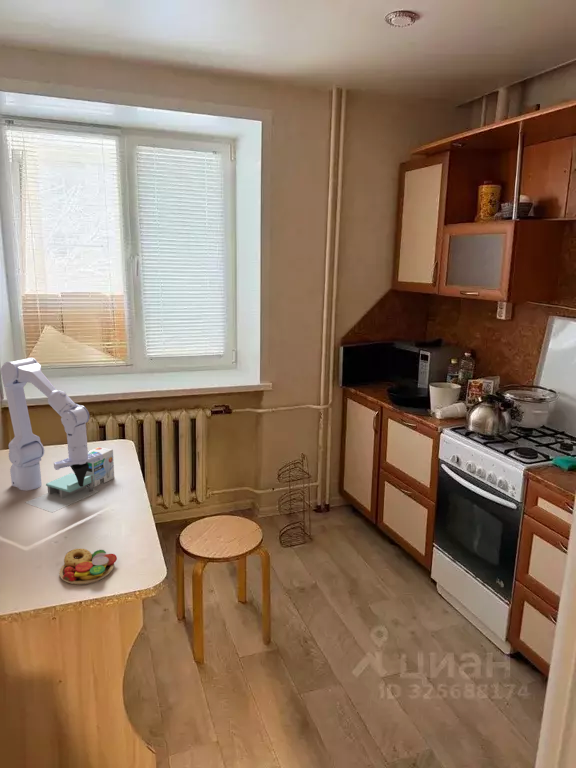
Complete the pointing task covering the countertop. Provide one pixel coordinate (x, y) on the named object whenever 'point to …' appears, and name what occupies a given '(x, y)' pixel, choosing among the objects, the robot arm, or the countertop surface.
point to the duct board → (61, 498)
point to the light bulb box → (101, 466)
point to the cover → (69, 482)
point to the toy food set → (86, 566)
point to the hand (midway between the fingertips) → (80, 485)
